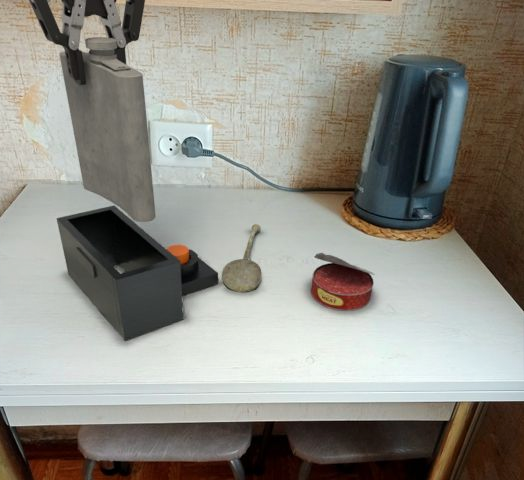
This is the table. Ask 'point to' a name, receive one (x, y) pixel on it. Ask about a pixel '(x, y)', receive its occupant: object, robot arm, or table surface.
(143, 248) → the black storage bin
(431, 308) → the table surface
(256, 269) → the soupspoon
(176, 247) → the button
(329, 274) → the canned food
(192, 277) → the control panel
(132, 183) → the hip flask
